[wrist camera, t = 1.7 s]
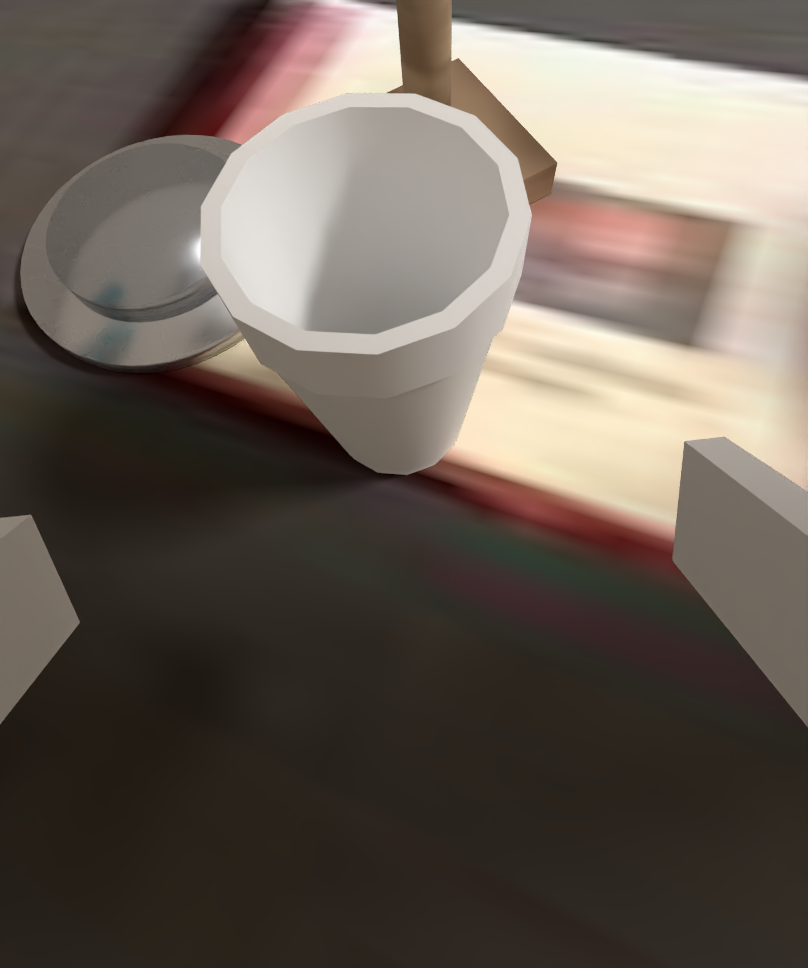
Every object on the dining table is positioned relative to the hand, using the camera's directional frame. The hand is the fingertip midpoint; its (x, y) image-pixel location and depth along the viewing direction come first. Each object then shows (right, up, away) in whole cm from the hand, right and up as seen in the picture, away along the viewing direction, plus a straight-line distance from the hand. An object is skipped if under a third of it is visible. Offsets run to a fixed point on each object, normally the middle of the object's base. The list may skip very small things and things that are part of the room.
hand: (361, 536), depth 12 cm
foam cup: (+1, +4, +17) cm, 17 cm away
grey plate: (-13, +14, +21) cm, 29 cm away
